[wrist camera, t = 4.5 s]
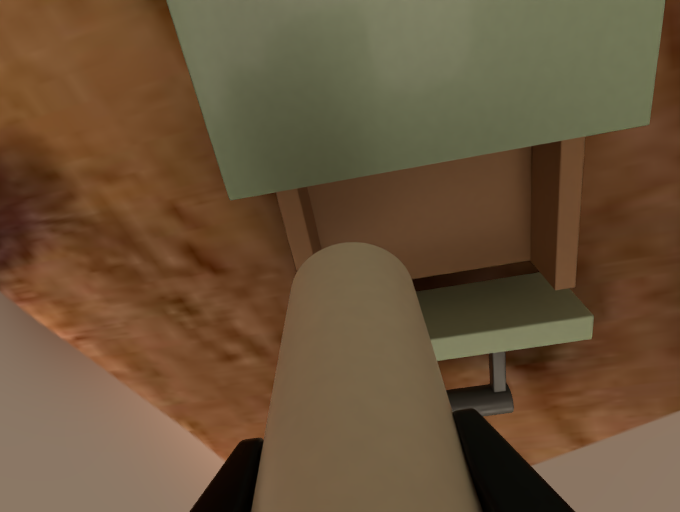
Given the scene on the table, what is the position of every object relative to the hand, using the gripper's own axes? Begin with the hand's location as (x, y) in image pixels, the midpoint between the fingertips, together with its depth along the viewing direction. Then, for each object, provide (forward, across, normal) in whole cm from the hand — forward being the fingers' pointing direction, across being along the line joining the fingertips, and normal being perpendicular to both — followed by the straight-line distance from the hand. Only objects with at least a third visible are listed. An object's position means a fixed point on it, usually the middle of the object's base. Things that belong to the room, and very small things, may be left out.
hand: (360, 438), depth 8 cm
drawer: (+12, -3, +2) cm, 13 cm away
